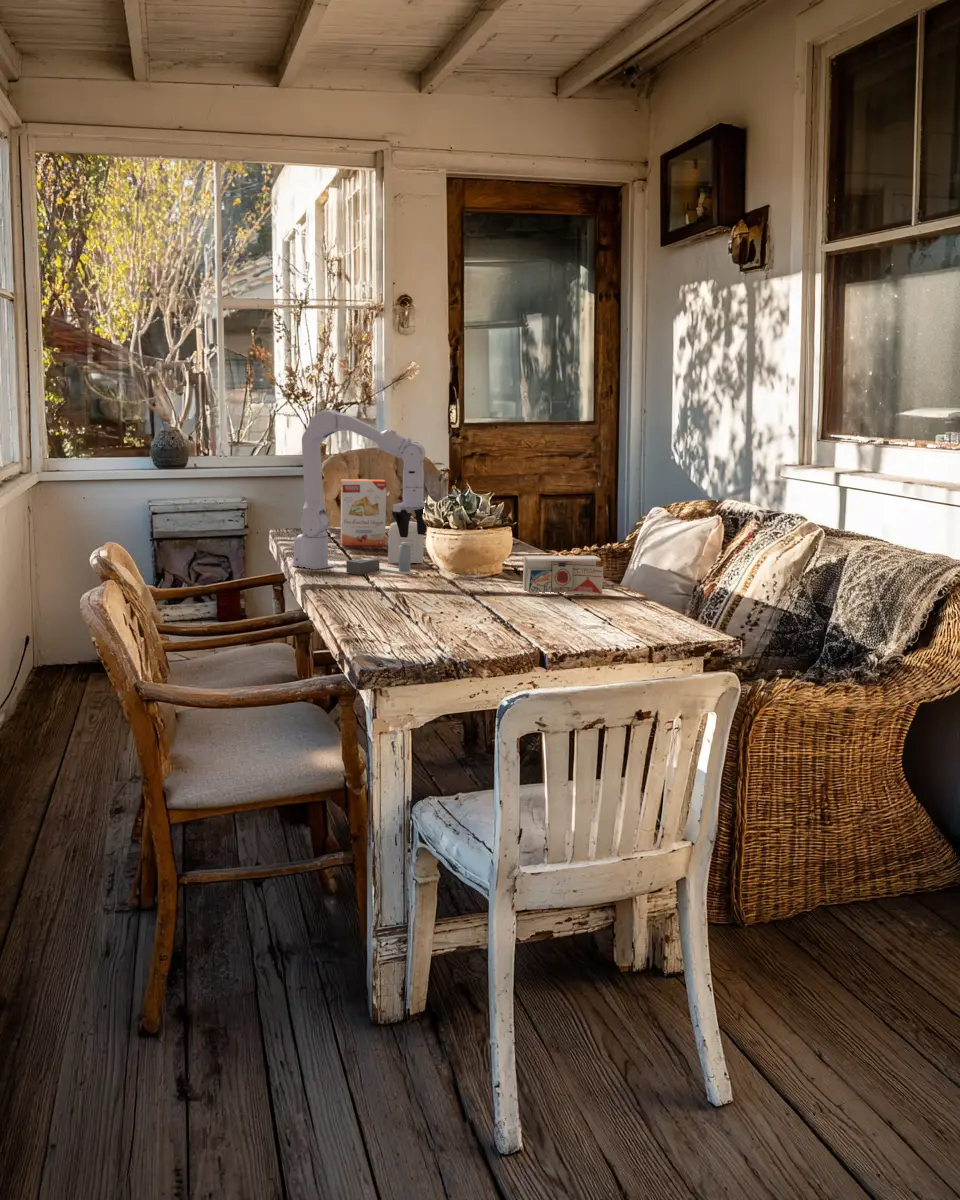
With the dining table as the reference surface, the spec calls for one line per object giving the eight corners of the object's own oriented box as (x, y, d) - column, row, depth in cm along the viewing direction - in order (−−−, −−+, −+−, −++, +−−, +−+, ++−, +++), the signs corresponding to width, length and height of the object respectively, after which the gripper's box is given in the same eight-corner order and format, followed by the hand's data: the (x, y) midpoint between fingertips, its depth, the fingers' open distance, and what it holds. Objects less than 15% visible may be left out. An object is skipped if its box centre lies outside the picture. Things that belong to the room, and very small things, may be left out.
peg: (396, 570, 324) (396, 542, 323) (403, 569, 327) (404, 541, 325) (405, 572, 323) (405, 543, 321) (412, 570, 325) (413, 542, 324)
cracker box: (342, 546, 372) (342, 480, 368) (340, 543, 378) (340, 478, 374) (386, 546, 375) (386, 480, 371) (383, 543, 380) (384, 478, 377)
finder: (346, 573, 324) (346, 560, 323) (366, 570, 330) (366, 557, 329) (359, 575, 321) (359, 562, 320) (379, 572, 327) (379, 559, 326)
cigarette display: (526, 595, 296) (528, 559, 294) (522, 591, 301) (523, 555, 299) (604, 595, 299) (605, 558, 297) (598, 591, 304) (600, 555, 302)
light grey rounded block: (422, 562, 344) (423, 520, 342) (424, 564, 340) (424, 522, 338) (387, 562, 343) (387, 520, 340) (388, 564, 339) (388, 522, 336)
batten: (365, 568, 331) (365, 566, 331) (375, 566, 334) (375, 564, 334) (409, 575, 321) (409, 573, 321) (418, 573, 324) (418, 571, 324)
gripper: (407, 489, 316) (406, 539, 318) (441, 486, 327) (440, 534, 330) (387, 487, 320) (387, 537, 323) (421, 484, 331) (420, 532, 334)
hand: (412, 535), depth 327 cm, fingers open, 7 cm apart
